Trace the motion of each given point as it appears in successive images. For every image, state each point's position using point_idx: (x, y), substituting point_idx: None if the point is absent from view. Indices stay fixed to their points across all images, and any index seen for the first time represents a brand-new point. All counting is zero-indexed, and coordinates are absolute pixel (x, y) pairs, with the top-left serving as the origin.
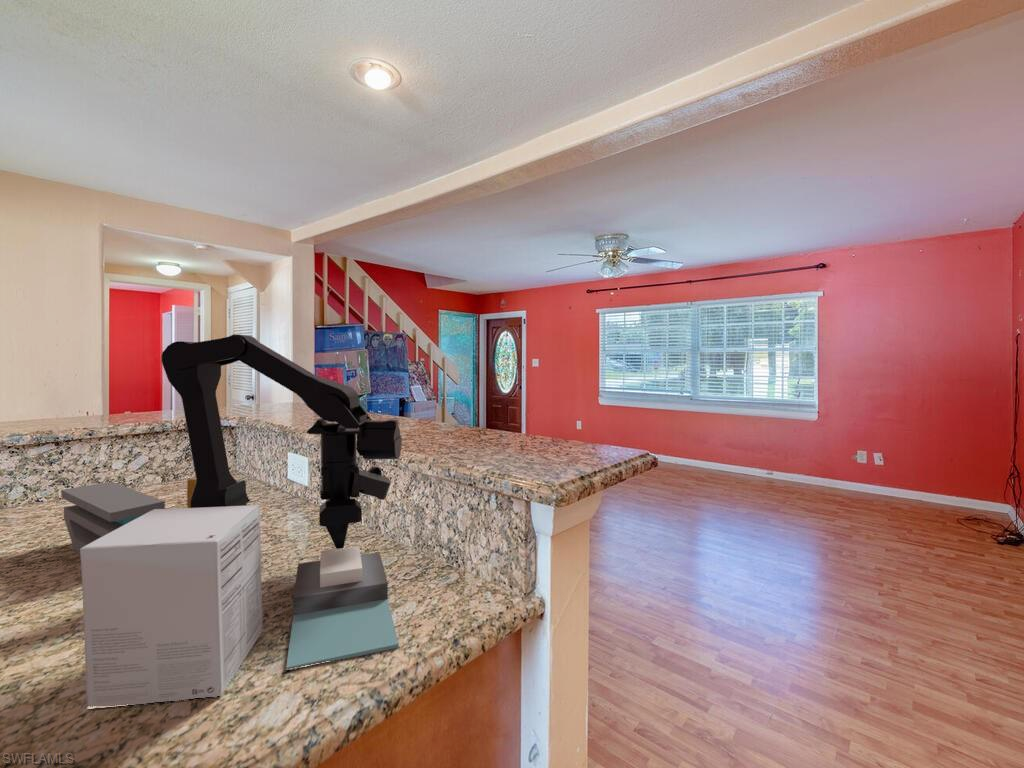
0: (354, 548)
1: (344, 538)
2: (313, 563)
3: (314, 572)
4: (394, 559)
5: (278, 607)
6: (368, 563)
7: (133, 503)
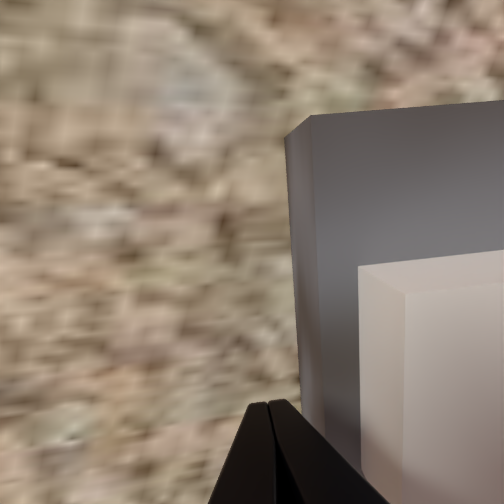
0: (446, 327)
1: (339, 461)
2: None
3: None
4: (166, 38)
5: None
6: (480, 199)
7: None
